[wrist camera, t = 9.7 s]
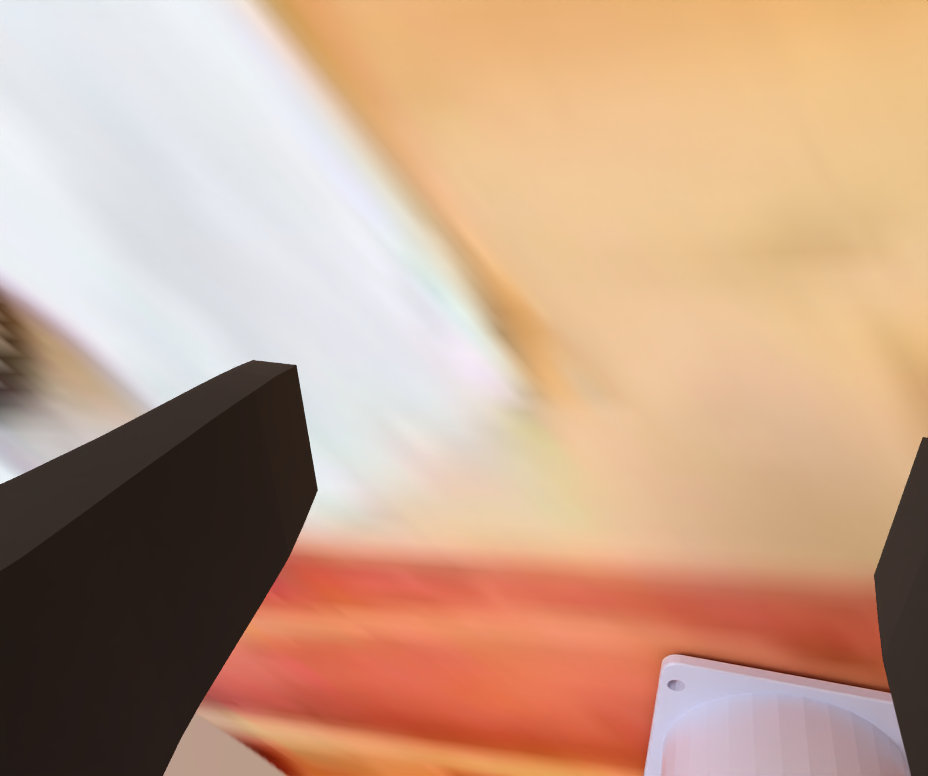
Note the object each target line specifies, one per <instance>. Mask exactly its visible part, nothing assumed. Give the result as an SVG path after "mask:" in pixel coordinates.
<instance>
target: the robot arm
mask: <svg viewBox="0 0 928 776" xmlns="http://www.w3.org/2000/svg"><path fill="white" fill-rule="evenodd" d="M317 491H318V489H317V483H316V477H315V471H314V466H313V460H312V454H311V448H310V442H309V436H308V430H307V425H306V419H305V413H304V407H303V401H302V395H301V389H300V384H299V378H298V372H297V366H296V365H290V364H282V363H273V362H264V361H256V360H252V361H250V362H247V363H245V364H242V365H240V366H237V367H235V368H233V369H231V370H229V371H227V372H224V373H222V374H220V375H218V376H216V377H214V378H212V379H210V380H208V381H206V382H204V383H202V384H200V385H199V386H197V387H195V388H193V389H191V390H189V391H187V392H185V393H183V394H181V395H179V396H177V397H176V398H174V399H172V400H170V401H168V402H166V403H164V404H162V405H160V406H158V407H156V408H155V409H153V410H151V411H149V412H147V413H145V414H143V415H141V416H139V417H137V418H135V419H134V420H132V421H130V422H128V423H126V424H124V425H122V426H120V427H118V428H116V429H114V430H112V431H111V432H109V433H107V434H105V435H103V436H101V437H99V438H97V439H95V440H93V441H91V442H88V443H86V444H84V445H82V446H80V447H78V448H76V449H74V450H72V451H70V452H68V453H66V454H64V455H61V456H59V457H57V458H55V459H53V460H51V461H49V462H47V463H45V464H43V465H41V466H39V467H36V468H34V469H32V470H30V471H28V472H26V473H24V474H22V475H20V476H18V477H16V478H13V479H11V480H9V481H7V482H4V483H2V484H0V776H163V774H164V772H165V770H166V768H167V766H168V764H169V762H170V760H171V758H172V756H173V754H174V751H175V750H176V747H177V745H178V743H179V741H180V739H181V737H182V735H183V734H184V732H185V730H186V728H187V727H188V725H189V723H190V721H191V719H192V718H193V716H194V714H195V712H196V710H197V709H198V707H199V705H200V703H201V702H202V700H203V698H204V697H205V695H206V694H207V692H208V690H209V689H210V687H211V685H212V684H213V682H214V680H215V679H216V677H217V676H218V674H219V672H220V671H221V669H222V667H223V666H224V664H225V662H226V661H227V659H228V658H229V656H230V654H231V653H232V651H233V649H234V648H235V646H236V644H237V643H238V641H239V640H240V638H241V636H242V635H243V633H244V631H245V630H246V628H247V627H248V625H249V623H250V622H251V620H252V618H253V617H254V615H255V613H256V612H257V610H258V609H259V607H260V605H261V604H262V602H263V600H264V599H265V597H266V595H267V593H268V592H269V590H270V588H271V587H272V585H273V583H274V582H275V580H276V578H277V577H278V575H279V573H280V572H281V570H282V568H283V567H284V565H285V563H286V561H287V560H288V558H289V556H290V554H291V552H292V549H293V547H294V545H295V543H296V541H297V538H298V536H299V534H300V532H301V529H302V527H303V525H304V522H305V520H306V518H307V515H308V513H309V510H310V508H311V505H312V503H313V500H314V498H315V496H316V493H317ZM874 579H875V590H876V601H877V612H878V622H879V631H880V639H881V648H882V656H883V662H884V667H885V671H886V675H887V680H888V684H889V688H890V692H891V693H888V692H882V691H877V690H871V689H866V688H861V687H855V686H850V685H844V684H839V683H833V682H828V681H822V680H817V679H811V678H806V677H800V676H795V675H789V674H784V673H778V672H773V671H767V670H762V669H756V668H751V667H746V666H740V665H735V664H729V663H724V662H718V661H713V660H707V659H702V658H696V657H691V656H685V655H678V654H673V655H669V656H667V657H665V658H664V659H663V661H662V664H661V670H660V676H659V683H658V689H657V695H656V701H655V707H654V714H653V720H652V726H651V732H650V738H649V745H648V751H647V757H646V763H645V769H644V776H928V438H925V437H923V438H922V441H921V444H920V446H919V449H918V452H917V455H916V458H915V461H914V463H913V466H912V469H911V472H910V475H909V478H908V481H907V483H906V486H905V489H904V492H903V495H902V498H901V500H900V503H899V506H898V509H897V512H896V515H895V517H894V520H893V523H892V526H891V529H890V532H889V534H888V537H887V540H886V543H885V546H884V549H883V551H882V554H881V557H880V560H879V563H878V566H877V568H876V571H875V574H874Z"/></svg>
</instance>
